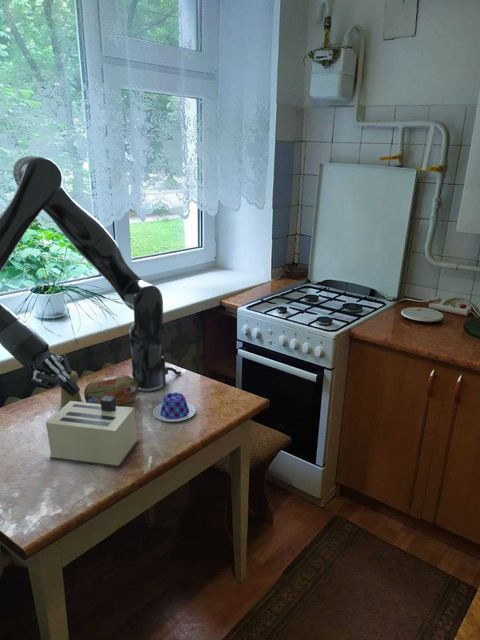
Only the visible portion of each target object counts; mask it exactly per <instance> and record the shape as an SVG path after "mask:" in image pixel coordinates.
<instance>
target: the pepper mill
mask: <svg viewBox="0 0 480 640" xmlns="http://www.w3.org/2000/svg"><path fill="white" fill-rule="evenodd" d="M71 371H72V373H71V374H70V379H71V380H72V381H73V382H74V383H75V384H76V385H77V386H78V381H79V375H78V374H79V373H77V372H76V371H75V370H71ZM78 387H79V386H78ZM70 401H76V402H83V399H82V397H81V393H80V391H79V392H78V393H77V394H76V395H74V396H71V395H69V394H68V393H67V392H66V391H64V390H63V389H62V388H61V387H60V410H61V409H62V408H63V407H64V406H65V405H66V404H67V403H69V402H70Z"/></svg>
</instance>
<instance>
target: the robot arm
mask: <svg viewBox="0 0 480 640" xmlns="http://www.w3.org/2000/svg"><path fill="white" fill-rule="evenodd" d="M12 175H13V179H14V182H15V184H16V186H17V189H16V190H15V193H14V194H13V195H14V196H13V197H12V198H11V201H10V202H9V204H8V205H7V206H6V207H5V209H4V210H3V211H2V213H1V214H0V273H2V271H3V269H4V268H5V266H6V265H7V263H8V262H9V260H10V258H11V256H12V255H13V253H14V252H15V250H16V248H17V246H18V245H19V243H20V241H21V240H22V238H23V237H24V235H25V234H26V232H27V231H28V229H29V228H30V227H31V225H32V224H33V222H34V221H35V220H36V218H38V216H39V215H40V213H41V212H42V211H43V212H44V213H46V214H47V215H48V217H50V219H51V220H52V221H53V222H54V224H55V225H56V227H57V228H58V229H59V230H60V232H62V234H63V235H64V236H65V237H66V240H68V241H69V242H70V243H71V245H72V246H73V247H74V248H75V249H76V251H77V252H78V253H79V254H80V255H81V256H82V257H83V258H84V259H85V260H86V261H87V262H88V263H89V264H90V266H91V267H93V269H95V271H96V272H98V273H99V274H100V275H101V276H102V277H103V278H104V279H105V280H106V281H107V282H108V283H109V284H110V285H111V287H112V288H113V289H114V291H115V292H116V294H117V295H118V296H119V298H120V299H121V300H122V302H123V303H124V305H126V307H127V308H128V309H130V310H131V311H133V323H131V324H130V325H129V327H128V331H129V344H130V357H131V374H132V378H133V379H134V380H135V381H136V383H137V384H138V392H142V393H143V392H144V393H149V392H150V393H151V392H156V391H158V390H161V389H162V388H163V387H164V386H166V385H167V380H166V376H167V375H169V371H170V372H173V373H174V374H175V375H177V376H179V375H181V374H182V372H181V370H179V371H177V369H175V368H174V367H171V366H166V358H165V357H164V356H163V352H162V351H163V349H162V327H163V324H164V299H163V294H162V292H161V290H160V288H158V287H157V286H155V285H153V284H151V283H149V282H147V281H145V280H143V279H142V278H141V277H140V276H138V275H137V274H136V273H135V272H134V271H133V269H132V268H131V267H130V266H129V265H128V264H127V263H126V260H125V258H124V256H123V254H122V252H121V251H122V250H121V249H120V247H119V245H118V243H117V242H116V240H115V239H114V238H113V237H112V235H111V234H110V233H109V232H108V230H107V229H106V228H105V227H104V226H103V224H101V223H100V222H99V221H98V220H97V219H96V218H95V217H94V216H93V215H92V214H90V213H89V211H87V210H86V209H84V207H82V206H81V205H79V203H77V202H76V201H75V200H74V199H73V198H72V197H71V196H70V195H69V194H68V193H67V191H66V190H65V189H64V187H63V186H62V185H63V173H62V170H61V169H60V167H59V165H58V164H57V163H56V162H55V161H53V160H51V159H50V158H47V157H42V156H36V155H27V156H22V157H21V158H19V159H18V160H16V162H15V163H14V165H13V169H12ZM0 345H1V346H2V348H3V349H5V350H6V351H7V352H8V353H9V354H10V355H11V356H12V357H13V358H14V359H16V361H18V363H20V364H21V365H22V366H23V367H24V368H25V367H28V368H29V369H30V371H31V372H32V373H33V377H32V378H31V382H32V383H34V384H38V385H41V386H44V387H47V388H50V389H55V388H57V387H58V388H60V389H61V388H62V389H63V390H64V391H66V392H67V393H68V394H69V395H71V396H74V395H76V394H77V393H78V392H80V391H81V389H80V387H79V386H77V385H78V384H77V385H76V384H75V383H74V382H73V381H72V380H71V379H70V374H71V373H72V371H73V370H72V368H71V365H70V362H69V359H68V356H67V355H66V354H64V353H63V354H62V355H57V354H56V353H55V352H54V351H52V350H50V348H49V347H50V345H49V343H48V342H47V341H46V340H45V339H43V337H42V336H40V335H39V334H38V333H37V332H36V330H34V329H33V328H32V327H31V326H30V325H29V324H28V323H26V322H25V321H24V320H22V319H21V318H20V316H18V315H16V313H15V312H14V311H12V309H10V307H8V306H7V305H6V304H4V303H1V302H0Z"/></svg>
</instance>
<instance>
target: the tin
mask: <svg viewBox="0 0 480 640" xmlns="http://www.w3.org/2000/svg"><path fill="white" fill-rule="evenodd" d="M138 394H139V391H138V384H137V383H136V381H135V380H134V379H133V377H131V376H130V375H128V374H127V375H126V374H120V375H115V376H110V377H104V378H98V379H94V380H92V381H90V382H89V383H88V384H87V385H86V387H85V389H84V393H83V397H84V401H85V403H94V404H101V399H102V398H103V397H104V396H110V397H115V403H116V406H122V405H127V404H130V403H131V402H133V401H134V400H135V399H136V398H137V396H138Z"/></svg>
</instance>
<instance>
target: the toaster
mask: <svg viewBox="0 0 480 640" xmlns="http://www.w3.org/2000/svg"><path fill="white" fill-rule="evenodd" d="M135 411H136V410H135V407H129V406H122V405H117V406H116V407H115V408H114V410H113V411H112V412H111V411H102V409H101V404H94V403H86V401H85V402H84V401H82V402H76V401H70V402H69V403H67V404H66V405H65V406H64V407H63V408H62V409H61V408H60V410H59V411H57V412H56V413H55V414H54V415H53V416H52V417H51V418H49V420H47V421H46V423H45V425H46V431H47V438H48V445H49V451H50V456H49V458H50V459H49V460H54V461H61V462H68V463H77V464H83V465H93V466H99V467H109V468H116V469H120V468H121V466H122V465H123V464H124V462H125V461H126V460H127V458H128V456H129V455H130V454H131V453H132V451H133V450H134V448H135V447H136V446H137V444H138V443H139V440H138V439H137V425H136V412H135Z"/></svg>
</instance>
